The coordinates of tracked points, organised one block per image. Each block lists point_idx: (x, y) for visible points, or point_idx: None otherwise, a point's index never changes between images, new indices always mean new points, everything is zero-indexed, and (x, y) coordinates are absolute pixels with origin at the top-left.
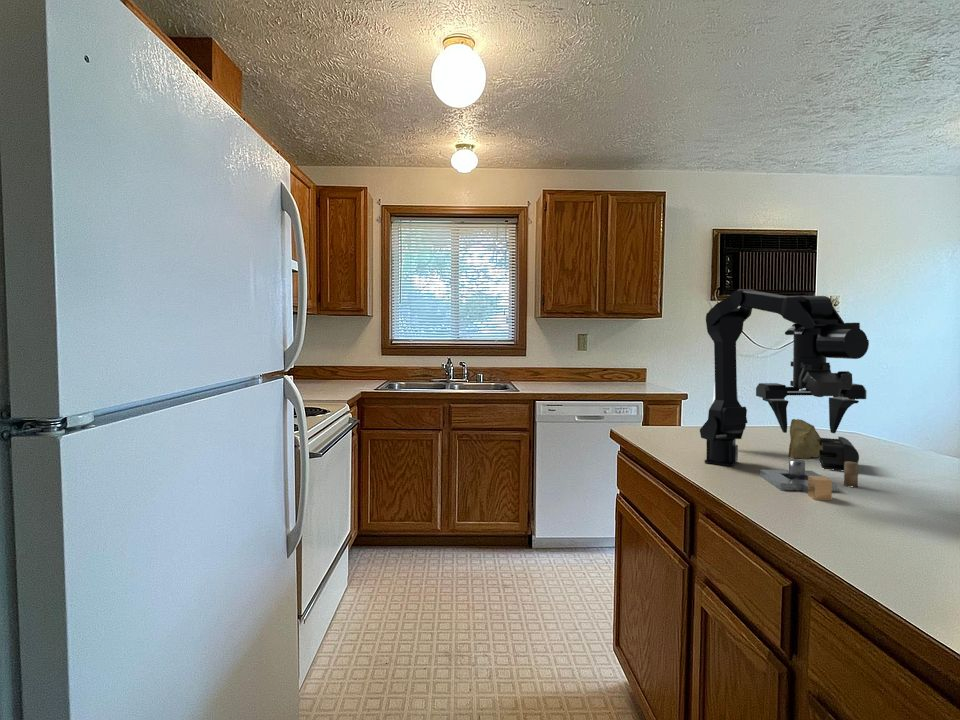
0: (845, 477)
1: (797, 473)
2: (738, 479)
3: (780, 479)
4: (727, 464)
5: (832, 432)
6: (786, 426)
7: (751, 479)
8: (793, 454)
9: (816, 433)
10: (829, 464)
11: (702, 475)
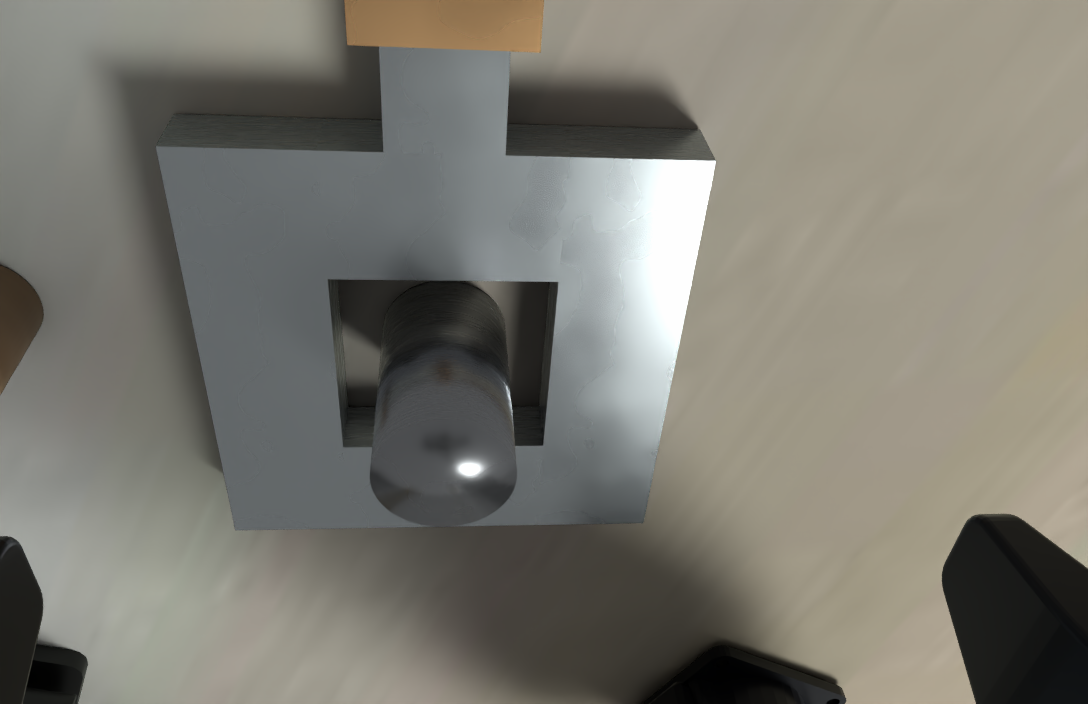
0: (8, 343)
1: (466, 349)
2: (858, 394)
3: (641, 278)
4: (739, 656)
5: (20, 563)
6: (1074, 611)
7: (755, 402)
8: None
9: None
10: (28, 688)
11: (1058, 461)
